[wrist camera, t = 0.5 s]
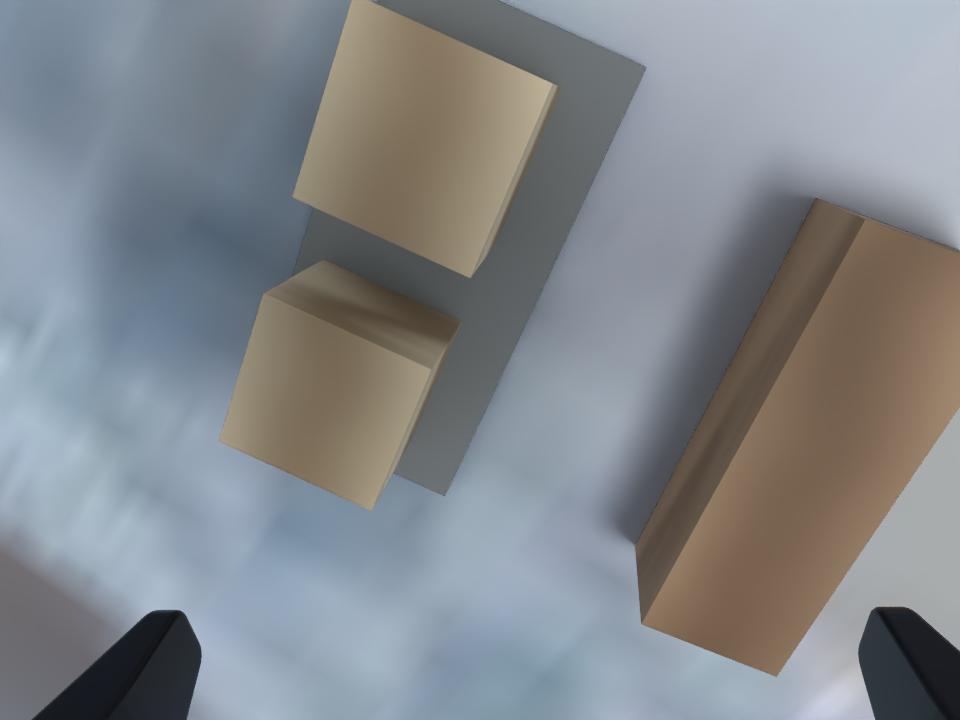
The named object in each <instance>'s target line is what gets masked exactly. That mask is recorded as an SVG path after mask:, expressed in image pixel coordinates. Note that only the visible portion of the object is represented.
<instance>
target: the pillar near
mask: <svg viewBox="0 0 960 720" xmlns="http://www.w3.org/2000/svg"><path fill="white" fill-rule="evenodd" d="M561 90H562V88H561V87H559V86H557V85H555V84H553V83H550V82H548V81H546V80H544V79H542V78H539V77H537V76H535V75H533V74H531V73H528V72H526V71H524V70H522V69H520V68H517V67H515V66H513V65H511V64H508V63H506V62H504V61H502V60H500V59H497V58H495V57H493V56H491V55H489V54H486V53H484V52H482V51H480V50H477V49H475V48H473V47H471V46H469V45H466V44H464V43H462V42H460V41H458V40H455V39H453V38H451V37H449V36H446V35H444V34H442V33H440V32H438V31H435V30H433V29H431V28H429V27H427V26H424V25H422V24H420V23H418V22H415V21H413V20H411V19H409V18H407V17H404V16H402V15H400V14H398V13H396V12H393V11H391V10H389V9H387V8H384V7H382V6H380V5H378V4H376V3H373V2H371V1H369V0H351V4H350V7H349V10H348V14H347V17H346V20H345V24H344V27H343V30H342V34H341V37H340V40H339V44H338V47H337V50H336V54H335V57H334V60H333V64H332V67H331V70H330V73H329V77H328V80H327V83H326V87H325V90H324V93H323V97H322V100H321V103H320V107H319V110H318V113H317V117H316V120H315V123H314V127H313V130H312V133H311V137H310V140H309V143H308V146H307V150H306V153H305V156H304V160H303V163H302V166H301V170H300V173H299V176H298V180H297V183H296V186H295V190H294V193H293V196H292V198H295V199H297V200H299V201H301V202H303V203H306V204H308V205H310V206H312V207H314V208H317V209H319V210H321V211H323V212H326V213H328V214H330V215H332V216H334V217H337V218H339V219H341V220H343V221H345V222H348V223H350V224H352V225H354V226H356V227H359V228H361V229H363V230H365V231H367V232H370V233H372V234H374V235H376V236H378V237H381V238H383V239H385V240H387V241H390V242H392V243H394V244H396V245H398V246H401V247H403V248H405V249H407V250H409V251H412V252H414V253H416V254H418V255H420V256H423V257H425V258H427V259H429V260H431V261H434V262H436V263H438V264H440V265H442V266H445V267H447V268H449V269H451V270H453V271H456V272H458V273H460V274H462V275H465V276H467V277H469V278H471V277H472V275H473V274H474V273H475V271H476V270H477V268H478V267H479V266H480V264H481V263H482V262H483V260H484V259H485V258H486V256H487V255H488V254H489V252H490V251H491V250H492V248H493V247H494V246H495V243H496V241H497V239H498V236H499V234H500V232H501V229H502V227H503V225H504V222H505V220H506V218H507V215H508V213H509V211H510V208H511V206H512V204H513V201H514V199H515V197H516V194H517V192H518V190H519V187H520V185H521V183H522V180H523V178H524V176H525V173H526V171H527V169H528V166H529V164H530V162H531V159H532V157H533V155H534V153H535V150H536V148H537V146H538V143H539V141H540V139H541V136H542V134H543V132H544V129H545V127H546V125H547V122H548V120H549V118H550V115H551V113H552V111H553V108H554V106H555V104H556V101H557V99H558V97H559V94H560V92H561Z"/></svg>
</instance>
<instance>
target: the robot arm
mask: <svg viewBox="0 0 960 720" xmlns="http://www.w3.org/2000/svg"><path fill="white" fill-rule="evenodd" d="M858 655H859V663H860V667H861V671H862V675H863V678H864V682H865V685H866V689H867V692H868V696H869V699H870V703H871V706H872V710H873V713H874V717H875V720H960V651H959V650H958V649H957V648H956V647H954V646H953V645H952V644H951V643H950V642H949V641H948V640H946V639H945V638H944V637H943V636H942V635H941V634H940V633H939V632H937V631H936V630H935V629H934V628H933V627H932V626H931V625H930V624H928V623H927V622H926V621H925V620H924V619H923V618H922V617H921V616H919V615H918V614H917V613H916V612H914V611H913V610H911V609H909V608H906V607H876V608H875V609H873V610H872V611H871V613H870V615H869V618H868V621H867V624H866V627H865V630H864V633H863V635H862V638H861V641H860V644H859V651H858ZM201 657H202V654H201V646H200V643H199V641H198V639H197V637H196V635H195V633H194V631H193V629H192V627H191V625H190V623H189V621H188V619H187V617H186V615H185V614H184V613H183V612H182V611H180V610H156V611H152V612H150V613H149V614H147V615H146V616H144V617H143V618H142V619H141V620H140V621H139V622H138V623H137V624H136V625H135V626H133V627H132V628H131V629H130V630H129V631H128V632H127V633H126V634H125V635H124V636H122V637H121V638H120V639H119V640H118V641H117V642H116V643H115V644H114V645H113V646H112V647H110V648H109V649H108V650H107V651H106V652H105V653H104V654H103V655H102V656H101V657H99V658H98V659H97V660H96V661H95V662H94V663H93V664H92V665H91V666H90V667H89V668H87V670H85V671H84V672H83V673H82V674H81V675H80V676H79V677H78V678H77V679H75V680H74V681H73V682H72V683H71V684H70V685H69V686H68V687H67V688H66V689H65V690H63V691H62V692H61V693H60V694H59V695H58V696H57V697H56V698H55V699H54V700H52V701H51V702H50V703H49V704H48V705H47V706H46V707H45V708H44V709H43V710H42V711H41V712H39V713H38V714H37V715H36V716H35V717H34V718H33V719H32V720H187V716H188V712H189V708H190V704H191V700H192V696H193V692H194V688H195V684H196V680H197V676H198V672H199V668H200V664H201Z"/></svg>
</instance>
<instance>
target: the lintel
mask: <svg viewBox="0 0 960 720" xmlns="http://www.w3.org/2000/svg"><path fill="white" fill-rule="evenodd" d="M959 407H960V251H959V250H956V249H953V248H951V247H948V246H945V245H943V244H940V243H937V242H934V241H932V240H929V239H926V238H923V237H921V236H918V235H915V234H912V233H910V232H907V231H904V230H902V229H899V228H896V227H893V226H891V225H888V224H885V223H882V222H880V221H877V220H874V219H871V218H869V217H866V216H863V215H861V214H858V213H855V212H852V211H850V210H847V209H844V208H841V207H839V206H836V205H833V204H830V203H828V202H825V201H822V200H820V199H817V198H816V199H815V201H814V203H813V205H812V207H811V209H810V211H809V213H808V214H807V216H806V218H805V220H804V222H803V224H802V226H801V228H800V230H799V232H798V234H797V236H796V238H795V239H794V241H793V243H792V245H791V247H790V249H789V251H788V253H787V255H786V257H785V259H784V261H783V263H782V264H781V266H780V268H779V270H778V272H777V274H776V276H775V278H774V280H773V282H772V284H771V286H770V288H769V289H768V291H767V293H766V295H765V297H764V299H763V301H762V303H761V305H760V307H759V309H758V311H757V313H756V315H755V316H754V318H753V320H752V322H751V324H750V326H749V328H748V330H747V332H746V334H745V336H744V338H743V340H742V341H741V343H740V345H739V347H738V349H737V351H736V353H735V355H734V357H733V359H732V361H731V363H730V365H729V366H728V368H727V370H726V372H725V374H724V376H723V378H722V380H721V382H720V384H719V386H718V388H717V390H716V391H715V393H714V395H713V397H712V399H711V401H710V403H709V405H708V407H707V409H706V411H705V413H704V415H703V416H702V418H701V420H700V422H699V424H698V426H697V428H696V430H695V432H694V434H693V436H692V438H691V440H690V441H689V443H688V445H687V447H686V449H685V451H684V453H683V455H682V457H681V459H680V461H679V463H678V465H677V466H676V468H675V470H674V472H673V474H672V476H671V478H670V480H669V482H668V484H667V486H666V488H665V490H664V491H663V493H662V495H661V497H660V499H659V501H658V503H657V505H656V507H655V509H654V511H653V513H652V515H651V516H650V518H649V520H648V522H647V524H646V526H645V528H644V530H643V532H642V534H641V536H640V538H639V540H638V541H637V543H636V545H635V550H636V563H637V575H638V588H639V601H640V613H641V624H642V625H645V626H647V627H650V628H653V629H655V630H658V631H660V632H663V633H665V634H668V635H670V636H673V637H676V638H678V639H681V640H683V641H686V642H688V643H691V644H694V645H696V646H699V647H701V648H704V649H706V650H709V651H712V652H714V653H717V654H719V655H722V656H724V657H727V658H729V659H732V660H735V661H737V662H740V663H742V664H745V665H747V666H750V667H753V668H755V669H758V670H760V671H763V672H765V673H768V674H771V675H773V676H776V677H777V675H778V674H779V672H780V671H781V669H782V668H783V666H784V665H785V663H786V662H787V660H788V659H789V658H790V656H791V655H792V653H793V652H794V650H795V649H796V647H797V646H798V644H799V643H800V641H801V640H802V638H803V637H804V635H805V634H806V632H807V631H808V630H809V628H810V627H811V625H812V624H813V622H814V621H815V619H816V618H817V616H818V615H819V613H820V612H821V610H822V609H823V607H824V606H825V604H826V603H827V602H828V600H829V599H830V597H831V596H832V594H833V593H834V591H835V590H836V588H837V587H838V585H839V584H840V582H841V581H842V579H843V578H844V576H845V575H846V574H847V572H848V571H849V569H850V568H851V566H852V565H853V563H854V562H855V560H856V559H857V557H858V556H859V554H860V553H861V551H862V550H863V549H864V547H865V546H866V544H867V543H868V541H869V540H870V538H871V537H872V535H873V534H874V532H875V531H876V529H877V528H878V526H879V525H880V523H881V522H882V521H883V519H884V518H885V516H886V515H887V513H888V512H889V510H890V509H891V507H892V506H893V504H894V503H895V501H896V500H897V498H898V497H899V495H900V494H901V493H902V491H903V490H904V488H905V487H906V485H907V484H908V482H909V481H910V479H911V478H912V476H913V475H914V473H915V472H916V470H917V469H918V467H919V466H920V465H921V463H922V462H923V460H924V459H925V457H926V456H927V454H928V453H929V451H930V450H931V448H932V447H933V445H934V444H935V442H936V441H937V439H938V438H939V437H940V435H941V434H942V432H943V431H944V429H945V428H946V426H947V425H948V423H949V422H950V420H951V419H952V417H953V416H954V414H955V413H956V411H957V410H958V409H959Z"/></svg>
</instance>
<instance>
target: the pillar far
mask: <svg viewBox="0 0 960 720" xmlns="http://www.w3.org/2000/svg"><path fill="white" fill-rule="evenodd" d="M460 325H461V322H460V321H458V320H456V319H454V318H452V317H449V316H447V315H445V314H443V313H441V312H438V311H436V310H434V309H432V308H429V307H427V306H425V305H423V304H421V303H418V302H416V301H414V300H412V299H410V298H407V297H405V296H403V295H401V294H399V293H396V292H394V291H392V290H390V289H388V288H385V287H383V286H381V285H379V284H377V283H374V282H372V281H370V280H368V279H366V278H363V277H361V276H359V275H357V274H355V273H352V272H350V271H348V270H346V269H344V268H341V267H339V266H337V265H335V264H332V263H330V262H328V261H326V260H324V259H323V260H322V261H320V262H318V263H316V264H314V265H313V266H311V267H309V268H307V269H305V270H304V271H302V272H300V273H298V274H297V275H295V276H293V277H291V278H289V279H288V280H286V281H284V282H282V283H280V284H279V285H277V286H275V287H273V288H272V289H270V290H268V291H266V292H264V293H263V296H262V299H261V302H260V306H259V309H258V312H257V316H256V319H255V322H254V326H253V329H252V332H251V336H250V339H249V342H248V346H247V349H246V352H245V355H244V359H243V362H242V365H241V369H240V372H239V375H238V379H237V382H236V385H235V389H234V392H233V395H232V399H231V402H230V405H229V409H228V412H227V415H226V418H225V422H224V425H223V428H222V432H221V435H220V438H219V442H221V443H223V444H226V445H228V446H230V447H232V448H234V449H237V450H239V451H241V452H243V453H245V454H248V455H250V456H252V457H254V458H256V459H259V460H261V461H263V462H265V463H267V464H269V465H272V466H274V467H276V468H278V469H280V470H283V471H285V472H287V473H289V474H291V475H294V476H296V477H298V478H300V479H302V480H305V481H307V482H309V483H311V484H313V485H316V486H318V487H320V488H322V489H324V490H327V491H329V492H331V493H333V494H335V495H338V496H340V497H342V498H344V499H346V500H349V501H351V502H353V503H355V504H357V505H360V506H362V507H364V508H366V509H368V510H371V511H372V510H373V508H374V506H375V504H376V502H377V501H378V499H379V497H380V495H381V493H382V492H383V490H384V488H385V486H386V485H387V483H388V481H389V479H390V477H391V476H392V474H393V472H394V470H395V468H396V467H397V465H398V463H399V461H400V460H401V458H402V456H403V454H404V452H405V451H406V449H407V447H408V445H409V443H410V441H411V439H412V436H413V434H414V432H415V429H416V427H417V425H418V422H419V420H420V418H421V415H422V413H423V411H424V408H425V406H426V404H427V402H428V399H429V397H430V395H431V392H432V390H433V388H434V385H435V383H436V381H437V378H438V376H439V374H440V371H441V369H442V367H443V364H444V362H445V360H446V357H447V355H448V353H449V350H450V348H451V346H452V343H453V341H454V339H455V336H456V334H457V332H458V329H459V327H460Z"/></svg>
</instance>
